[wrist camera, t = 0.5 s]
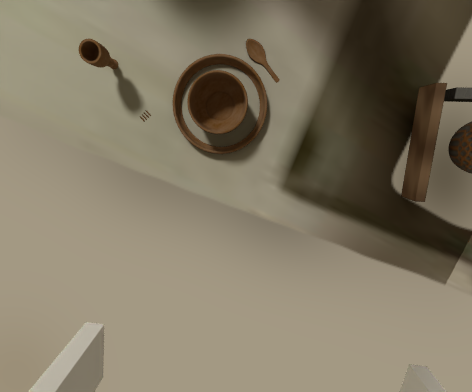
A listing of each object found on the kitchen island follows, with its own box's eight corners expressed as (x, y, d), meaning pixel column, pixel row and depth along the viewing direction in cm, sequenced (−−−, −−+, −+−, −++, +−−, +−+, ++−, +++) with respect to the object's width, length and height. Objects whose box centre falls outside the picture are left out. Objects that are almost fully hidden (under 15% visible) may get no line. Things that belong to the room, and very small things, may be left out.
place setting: (200, 184, 37) (192, 193, 31) (97, 67, 34) (68, 53, 28) (300, 99, 34) (311, 92, 28) (198, -37, 31) (188, -76, 25)
